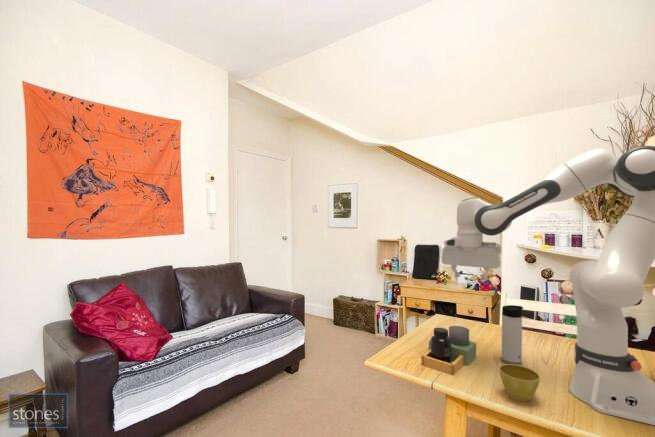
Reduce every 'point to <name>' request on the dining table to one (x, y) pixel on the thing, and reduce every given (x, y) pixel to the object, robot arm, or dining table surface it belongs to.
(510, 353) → the travel mug
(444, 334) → the supplement bottle
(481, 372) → the dining table surface
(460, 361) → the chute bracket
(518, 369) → the flower pot
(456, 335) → the green block with knob
